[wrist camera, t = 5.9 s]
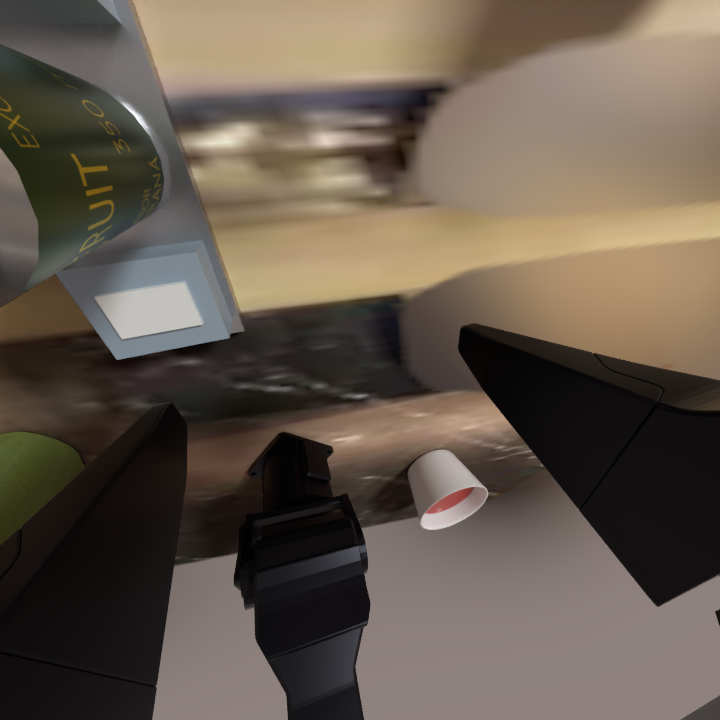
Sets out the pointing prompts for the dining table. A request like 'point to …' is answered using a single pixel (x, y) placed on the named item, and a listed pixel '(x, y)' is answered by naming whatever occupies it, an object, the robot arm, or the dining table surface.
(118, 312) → the module
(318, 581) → the robot arm
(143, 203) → the beer can
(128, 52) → the rail
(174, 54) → the dining table surface
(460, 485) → the white tapered cup
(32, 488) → the plant pot
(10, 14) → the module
